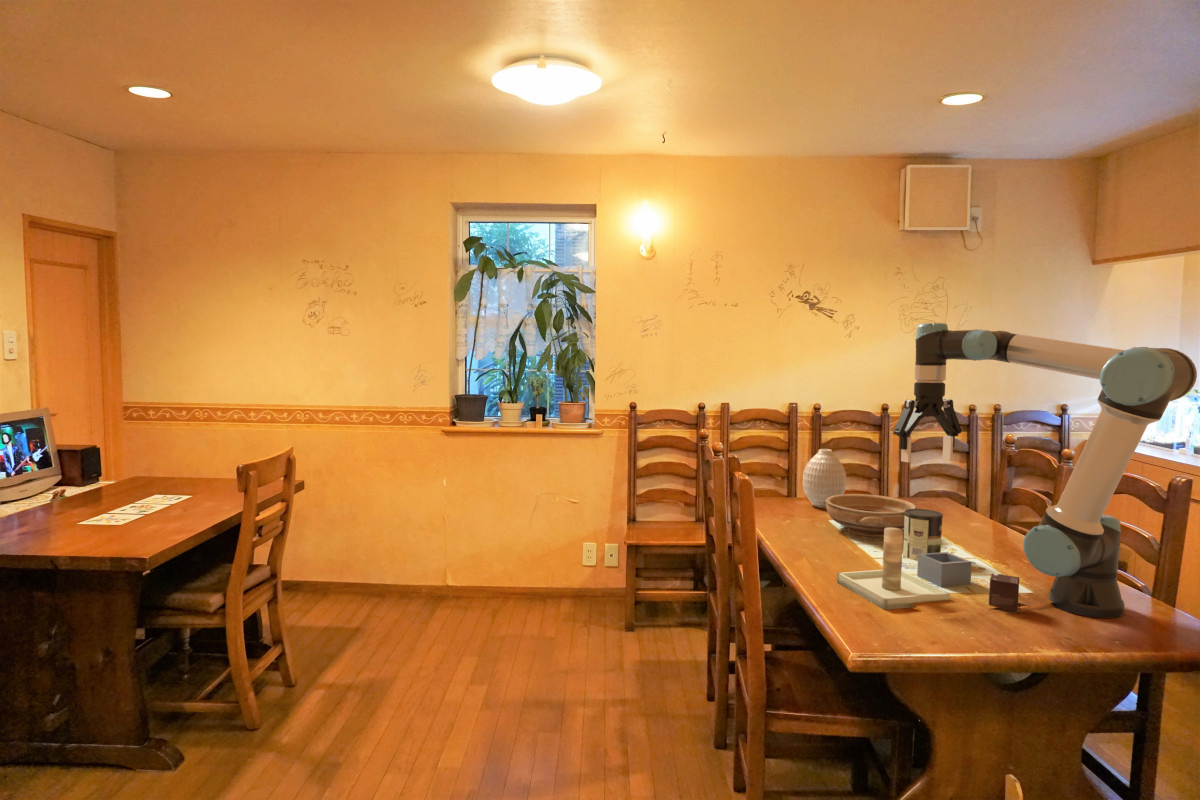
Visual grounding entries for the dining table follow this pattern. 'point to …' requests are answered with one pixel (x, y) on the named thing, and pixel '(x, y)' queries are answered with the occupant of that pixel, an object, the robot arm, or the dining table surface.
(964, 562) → the grey square bin
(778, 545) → the dining table surface
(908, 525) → the coffee can
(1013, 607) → the box
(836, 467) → the vase
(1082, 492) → the robot arm
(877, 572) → the tray
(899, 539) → the dowel
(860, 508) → the ceramic bowl
